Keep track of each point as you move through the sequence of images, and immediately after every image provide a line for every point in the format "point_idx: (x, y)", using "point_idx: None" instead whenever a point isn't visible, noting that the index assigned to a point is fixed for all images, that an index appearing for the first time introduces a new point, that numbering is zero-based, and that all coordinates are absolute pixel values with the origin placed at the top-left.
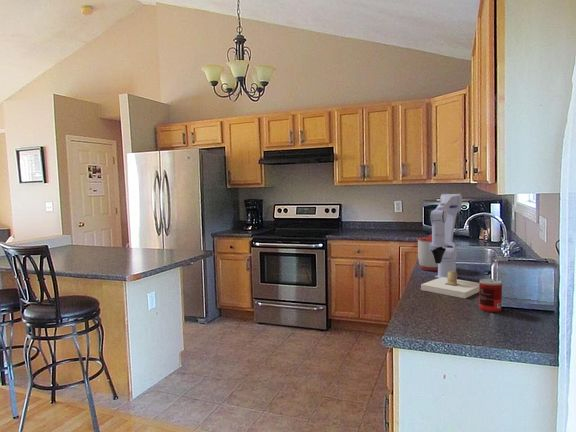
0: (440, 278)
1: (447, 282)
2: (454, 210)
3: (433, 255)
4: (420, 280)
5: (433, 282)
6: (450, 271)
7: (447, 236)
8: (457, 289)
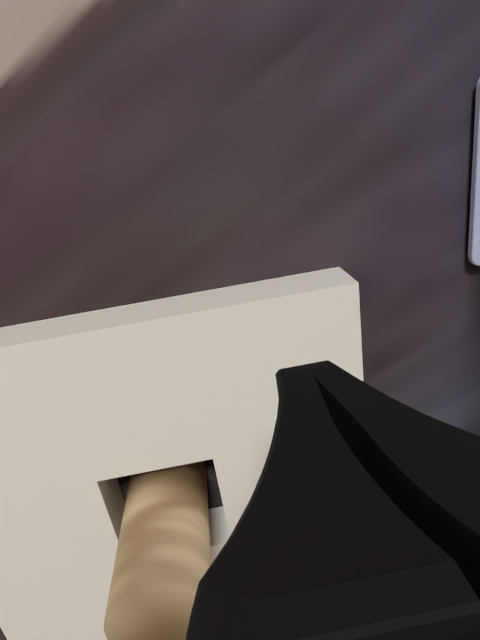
0: (278, 320)
1: (131, 501)
2: None
3: (271, 453)
4: (220, 53)
5: (58, 391)
6: (173, 598)
7: None
8: (52, 619)
